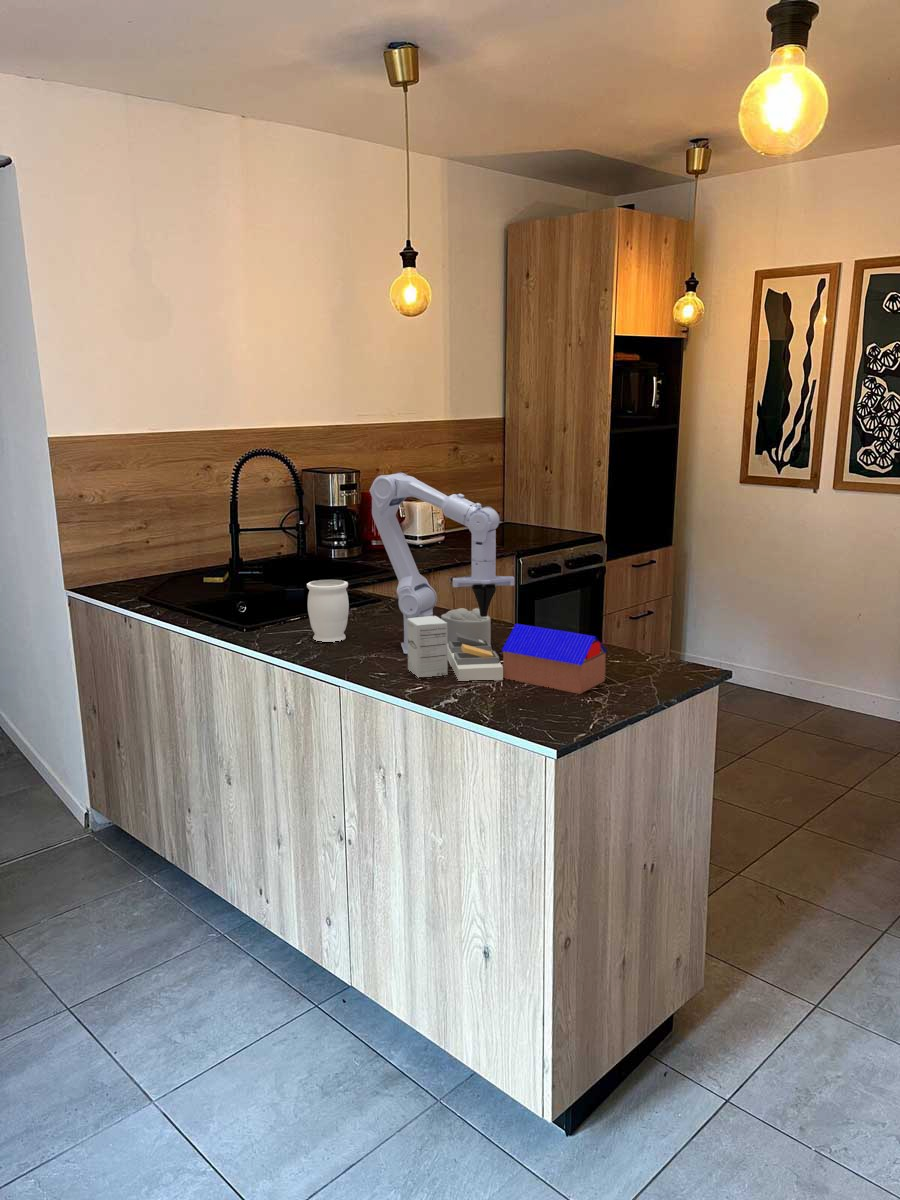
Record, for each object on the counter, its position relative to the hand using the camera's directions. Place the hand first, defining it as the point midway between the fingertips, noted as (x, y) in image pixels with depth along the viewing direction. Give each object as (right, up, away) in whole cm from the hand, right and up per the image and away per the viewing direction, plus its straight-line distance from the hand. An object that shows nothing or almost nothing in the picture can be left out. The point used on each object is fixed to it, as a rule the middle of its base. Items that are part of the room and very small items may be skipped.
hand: (483, 615), depth 219 cm
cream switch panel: (-3, -12, -6) cm, 13 cm away
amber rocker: (-2, -8, -11) cm, 14 cm away
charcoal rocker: (-3, -6, -2) cm, 7 cm away
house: (+15, -14, -15) cm, 26 cm away
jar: (-39, -7, +20) cm, 45 cm away
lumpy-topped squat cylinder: (-3, -8, +15) cm, 17 cm away
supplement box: (-13, -13, -10) cm, 21 cm away
